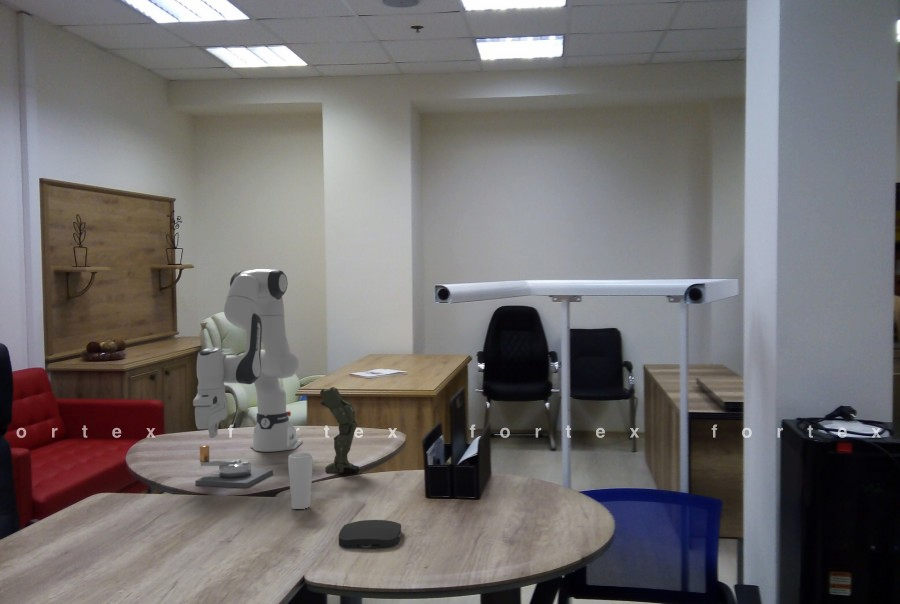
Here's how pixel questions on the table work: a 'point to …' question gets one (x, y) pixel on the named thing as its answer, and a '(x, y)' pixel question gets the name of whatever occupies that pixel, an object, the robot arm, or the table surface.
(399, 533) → the media streaming box
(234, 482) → the housing plate
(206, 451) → the lever
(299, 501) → the drinking glass
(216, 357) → the robot arm
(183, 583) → the table surface
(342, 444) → the mechanical leg
